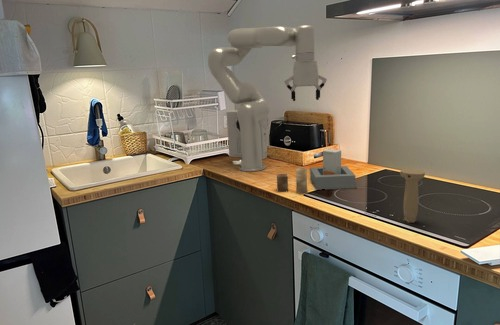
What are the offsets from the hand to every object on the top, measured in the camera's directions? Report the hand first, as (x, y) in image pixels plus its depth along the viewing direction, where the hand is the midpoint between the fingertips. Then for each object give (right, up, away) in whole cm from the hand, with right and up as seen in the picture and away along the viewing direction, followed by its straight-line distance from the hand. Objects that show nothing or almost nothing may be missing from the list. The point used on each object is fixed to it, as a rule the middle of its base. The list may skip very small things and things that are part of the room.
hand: (305, 100), depth 158 cm
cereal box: (-24, -23, +50) cm, 60 cm away
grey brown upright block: (-4, -37, -15) cm, 40 cm away
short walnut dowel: (-11, -37, -12) cm, 40 cm away
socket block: (+9, -34, -6) cm, 36 cm away
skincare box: (+10, -33, -7) cm, 35 cm away
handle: (+24, -43, -47) cm, 68 cm away
